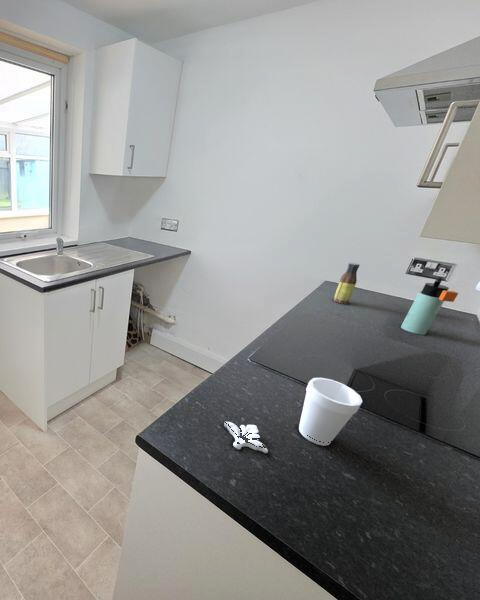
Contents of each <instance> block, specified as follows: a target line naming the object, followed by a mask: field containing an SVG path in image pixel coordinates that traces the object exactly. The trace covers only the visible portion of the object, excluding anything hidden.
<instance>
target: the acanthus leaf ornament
mask: <svg viewBox="0 0 480 600" xmlns="http://www.w3.org/2000/svg"><path fill="white" fill-rule="evenodd" d="M225 422H226V423H227V424H226V423H225ZM225 422H223V423H224V424H223V425H224V427H225V428H226V429H227V431H228V432H229V434H230V435H232V436H233V438H234V440H235V441H234V442H233V445H232V446H233V447H234V448H235V449H237V450H241V449H242V448H243V447H248V448H250V449H253V450H254V451H259V452H262V453H264V454H268V453H269V449H268V448H267V447H266V448H264V447H263V445H264V444H263V443H262V442H261V441H259V440H260V439H257V440H252V438H261V436H260V435H259V433H260V431H259V429H258V426H257V425H255V424H247V425H244V424H241V425H240V426H239V427H240V428H241V430H242V432H240V429H239V427H238V425H236V424H235V423H233V422H232V421H225ZM228 424H229V426H230V427H231V428H230V427H229V426H228ZM231 429H232V430H233V431H234V432H233V431H232V430H231ZM247 432H248V433H247ZM235 433H236V434H237V435H236V434H235ZM240 433H242V436H243V435H245V434H246V433H247V434H246V435H245V436H246V438H248V439H250V440H248V442H250V443H252V444H254V445H255V446H254V445H252V444H250V443H246V442H245V440H243V439H242V438H240V437H239V438H238V437H237V436H240ZM249 433H252V434H249ZM257 433H258V434H257ZM248 434H249V435H248ZM247 435H248V436H247ZM245 436H244V437H245ZM237 442H239V443H240V444H237ZM262 444H263V445H262ZM256 446H257V447H256ZM259 446H261V447H263V448H261V447H259Z"/></svg>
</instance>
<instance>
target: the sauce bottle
mask: <svg viewBox="0 0 480 600" xmlns="http://www.w3.org/2000/svg"><path fill="white" fill-rule="evenodd" d="M360 265H361V264H360V263H356V262H355V263H354V262H348V265H347V269H346V272H345V273H344V274H342V275H341V277H340V280H339V282H338V285H337V287H336V291H335V293H334V296H333V301H334V302H335V303H337V304H342V305H347V304H349V302H350V300H351V298H352V296H353V293H354V290H355V287H356V285H357V281H358V280H357V273H358V270H359V268H360Z"/></svg>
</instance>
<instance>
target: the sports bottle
mask: <svg viewBox="0 0 480 600" xmlns="http://www.w3.org/2000/svg"><path fill="white" fill-rule="evenodd" d="M442 281H443V278H442V277H441V276H438V277H437V278H435V280H434V282H426V283H425V284H424V286H423V288H422V289H421V291H418V293H417V295H416V297H415V298H414V300H413V302H412V304H411V307H410V308H409V310H408V312H407V314H406V316H405V318H404V320H403V321H402V323H401V326H400V328H401V329H402V330H404V331H406V332H409V333H412V334H416V335H423V336H424V335H426V334H427V333H428V331H429V330H430V327H431V326H432V324H433V322H434V320H435V319H436V317H437V315H438V313H439V312H440V310H441V308H442V306H443V305H444V303H445V301H442V300H440V299H439V297H440V295H441V293H442V291H443V290H445V291H449V289H450V288H449V287H448V286H446V285H443V284H441V283H442Z"/></svg>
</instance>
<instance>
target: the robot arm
mask: <svg viewBox="0 0 480 600" xmlns="http://www.w3.org/2000/svg"><path fill="white" fill-rule="evenodd" d="M475 291H477V292H479V293H480V280H479V282H478V283H477V284H476V286H475Z"/></svg>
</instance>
